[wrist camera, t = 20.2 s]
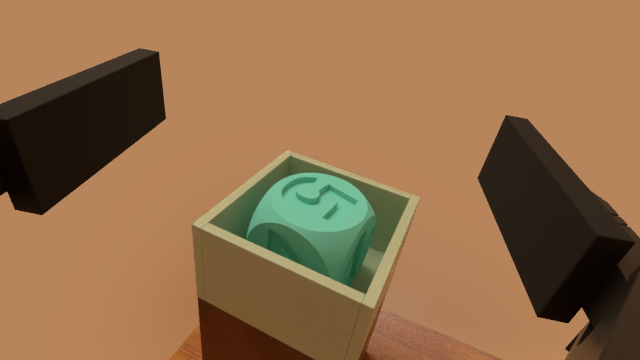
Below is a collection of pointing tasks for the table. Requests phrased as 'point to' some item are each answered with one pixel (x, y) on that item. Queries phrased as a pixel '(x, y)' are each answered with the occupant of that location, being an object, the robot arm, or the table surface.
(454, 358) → the table surface
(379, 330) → the table surface
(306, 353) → the bin
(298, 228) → the decorative dice
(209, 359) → the stand
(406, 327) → the table surface
